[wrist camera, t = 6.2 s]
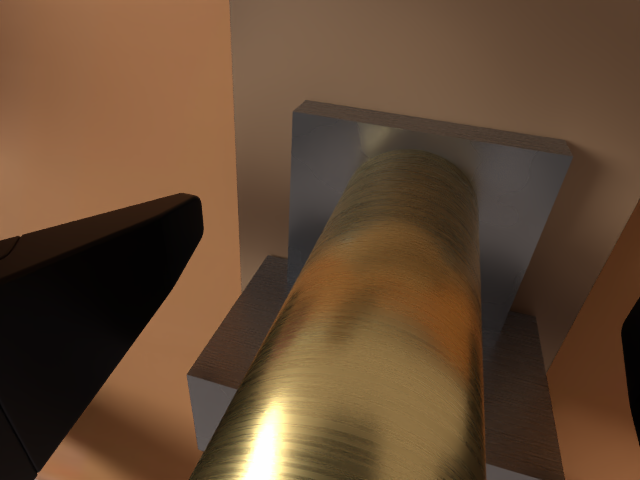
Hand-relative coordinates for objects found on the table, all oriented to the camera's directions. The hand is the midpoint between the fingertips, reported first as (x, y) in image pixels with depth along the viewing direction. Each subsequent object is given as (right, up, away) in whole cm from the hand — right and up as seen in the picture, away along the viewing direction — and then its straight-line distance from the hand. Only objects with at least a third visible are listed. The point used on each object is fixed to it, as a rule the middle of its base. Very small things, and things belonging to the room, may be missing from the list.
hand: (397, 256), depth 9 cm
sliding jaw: (+1, 0, +3) cm, 4 cm away
